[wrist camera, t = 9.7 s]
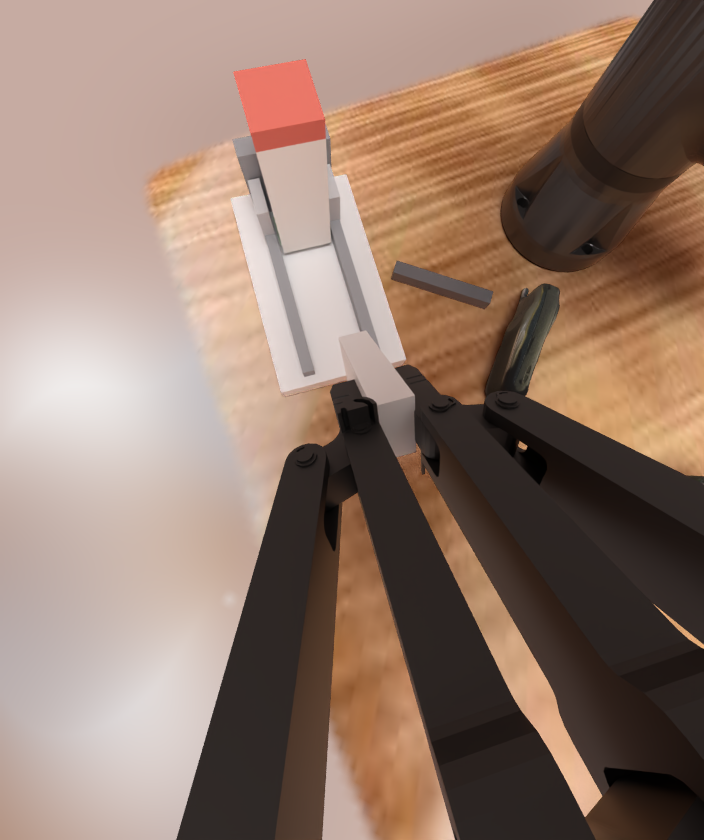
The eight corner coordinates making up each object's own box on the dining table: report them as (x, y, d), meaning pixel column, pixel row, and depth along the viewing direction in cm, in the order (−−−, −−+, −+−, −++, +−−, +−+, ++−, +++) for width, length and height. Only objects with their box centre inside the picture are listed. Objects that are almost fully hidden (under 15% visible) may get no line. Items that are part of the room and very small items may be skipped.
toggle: (330, 242, 30) (324, 118, 19) (284, 253, 30) (250, 133, 19) (318, 201, 31) (305, 59, 20) (272, 211, 30) (233, 71, 19)
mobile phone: (532, 401, 26) (574, 270, 28) (503, 390, 26) (547, 260, 28) (502, 408, 31) (539, 297, 33) (478, 399, 31) (516, 288, 33)
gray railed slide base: (402, 365, 31) (422, 334, 23) (285, 396, 30) (265, 375, 22) (345, 190, 34) (347, 110, 26) (237, 213, 33) (204, 137, 25)
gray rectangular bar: (485, 299, 33) (493, 291, 32) (482, 310, 33) (490, 303, 31) (394, 269, 33) (396, 260, 32) (390, 281, 33) (393, 272, 31)
